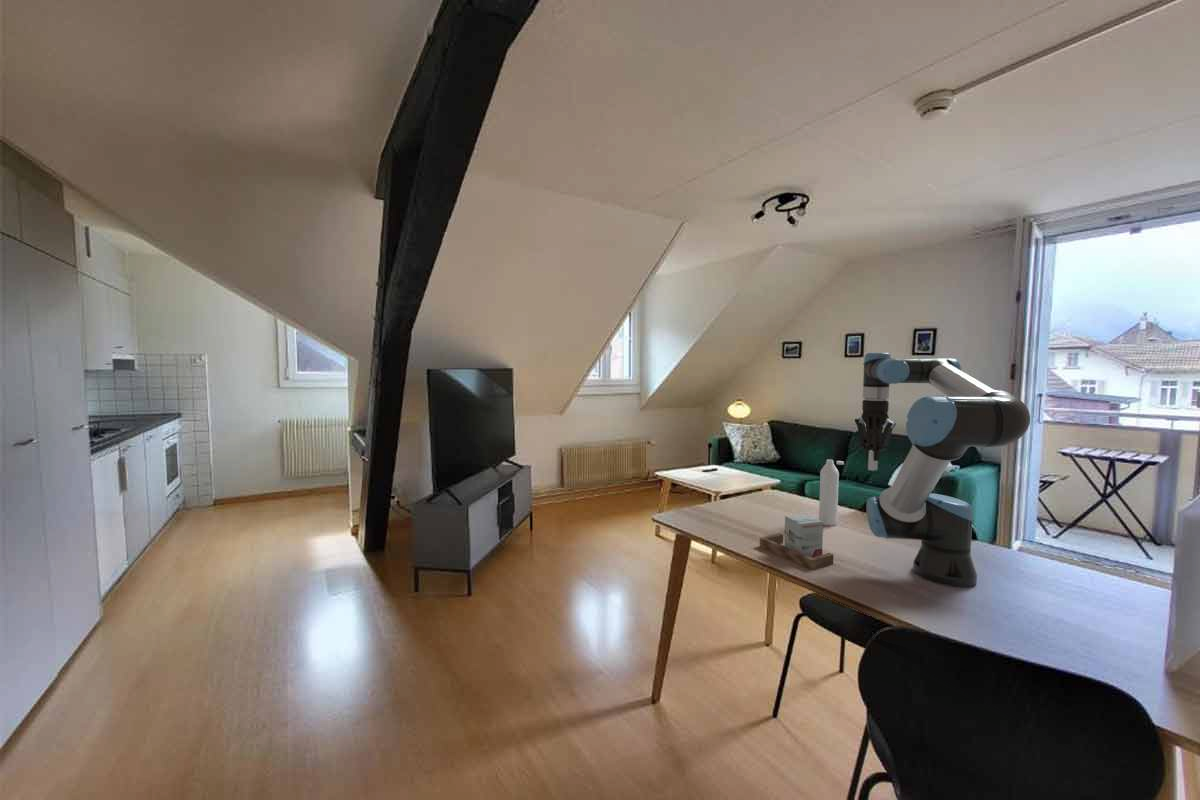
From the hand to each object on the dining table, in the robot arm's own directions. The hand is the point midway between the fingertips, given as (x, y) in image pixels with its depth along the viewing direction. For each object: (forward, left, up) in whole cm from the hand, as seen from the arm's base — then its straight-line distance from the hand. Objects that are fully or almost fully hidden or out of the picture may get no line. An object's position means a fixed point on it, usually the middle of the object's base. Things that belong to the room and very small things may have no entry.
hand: (872, 469), depth 160 cm
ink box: (+7, +25, -27) cm, 37 cm away
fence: (+7, +28, -26) cm, 39 cm away
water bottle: (+21, -8, -27) cm, 35 cm away
